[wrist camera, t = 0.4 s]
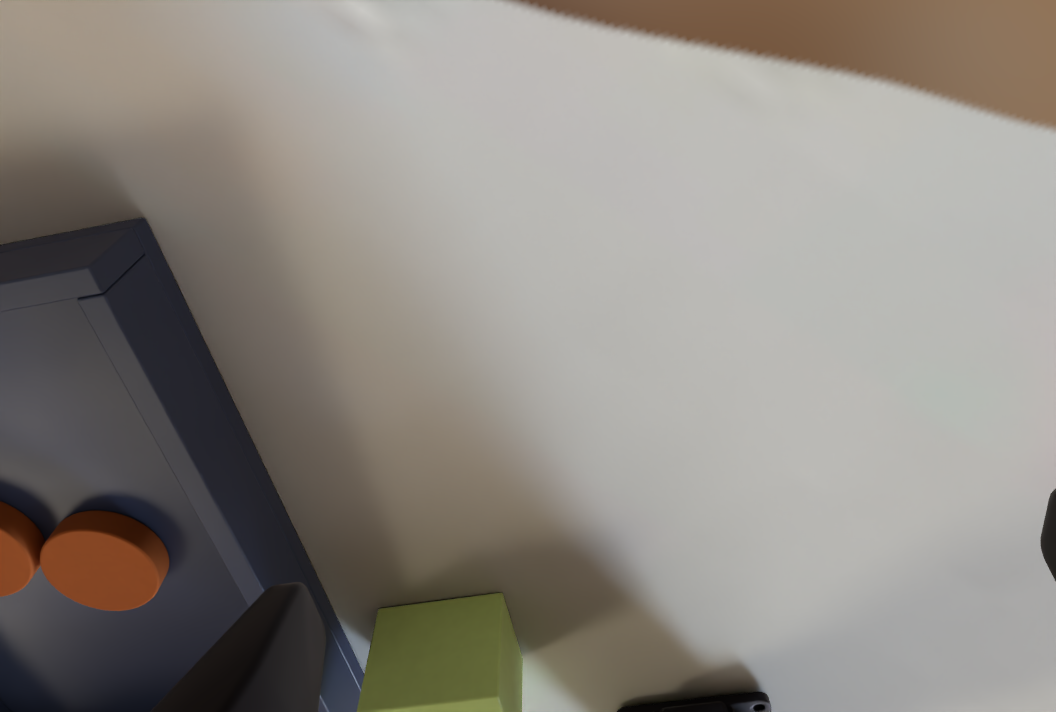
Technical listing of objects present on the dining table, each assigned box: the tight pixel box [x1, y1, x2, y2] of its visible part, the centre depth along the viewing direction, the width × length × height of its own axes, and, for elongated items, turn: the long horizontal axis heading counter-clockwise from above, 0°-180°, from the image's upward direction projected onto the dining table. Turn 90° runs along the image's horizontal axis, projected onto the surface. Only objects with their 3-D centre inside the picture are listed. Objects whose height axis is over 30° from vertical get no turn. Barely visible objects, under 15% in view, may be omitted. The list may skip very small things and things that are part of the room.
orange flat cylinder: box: [40, 510, 169, 611], centre depth 27 cm, size 4×4×1 cm
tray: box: [0, 218, 364, 712], centre depth 27 cm, size 22×16×3 cm
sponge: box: [357, 593, 523, 712], centre depth 29 cm, size 4×5×4 cm
